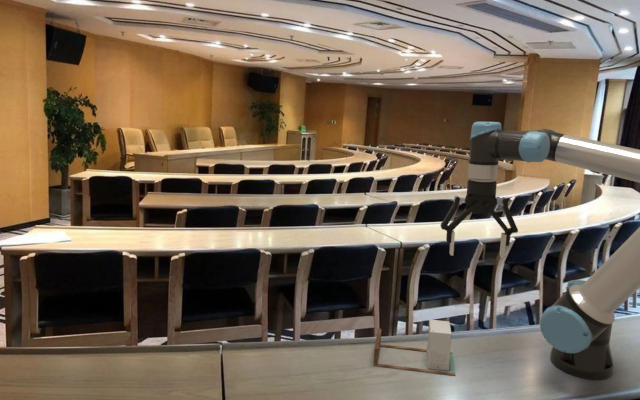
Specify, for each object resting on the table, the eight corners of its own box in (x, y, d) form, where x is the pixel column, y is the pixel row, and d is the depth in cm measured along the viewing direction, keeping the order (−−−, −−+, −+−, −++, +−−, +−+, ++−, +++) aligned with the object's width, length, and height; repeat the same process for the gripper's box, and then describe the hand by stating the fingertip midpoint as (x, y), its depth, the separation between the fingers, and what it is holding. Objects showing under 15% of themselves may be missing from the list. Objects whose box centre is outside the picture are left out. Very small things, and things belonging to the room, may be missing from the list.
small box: (448, 371, 131) (452, 334, 129) (426, 368, 132) (429, 331, 130) (447, 356, 139) (450, 321, 137) (426, 354, 140) (429, 318, 138)
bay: (452, 353, 141) (453, 336, 140) (455, 376, 129) (457, 358, 128) (376, 344, 144) (377, 328, 143) (373, 366, 133) (374, 348, 132)
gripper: (526, 179, 137) (519, 253, 141) (433, 176, 141) (429, 249, 145) (534, 183, 130) (527, 262, 134) (436, 180, 133) (431, 257, 137)
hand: (476, 255), depth 139 cm, fingers open, 13 cm apart
